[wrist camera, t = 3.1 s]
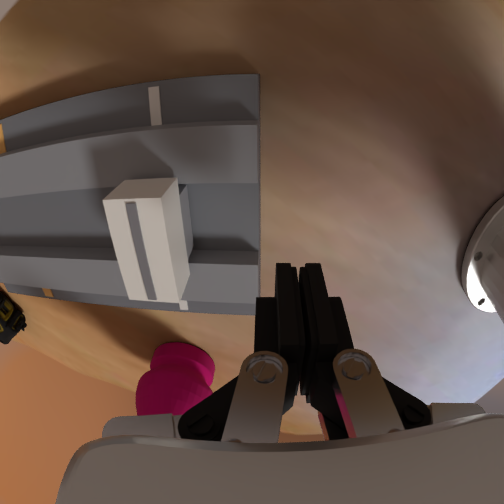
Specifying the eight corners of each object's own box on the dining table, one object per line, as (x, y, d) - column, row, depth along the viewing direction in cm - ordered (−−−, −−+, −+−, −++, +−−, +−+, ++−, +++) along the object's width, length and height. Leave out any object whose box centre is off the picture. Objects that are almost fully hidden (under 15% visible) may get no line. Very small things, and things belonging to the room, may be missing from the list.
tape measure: (16, 331, 31) (3, 351, 28) (-18, 294, 28) (-33, 312, 25) (33, 316, 29) (18, 339, 26) (-6, 274, 26) (-24, 294, 23)
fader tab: (185, 167, 17) (160, 198, 13) (195, 258, 20) (179, 304, 16) (136, 170, 17) (101, 200, 13) (151, 257, 20) (128, 300, 16)
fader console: (259, 73, 16) (256, 74, 13) (260, 297, 24) (258, 330, 21) (-28, 131, 17) (-55, 144, 14) (18, 280, 26) (0, 301, 23)
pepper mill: (137, 341, 28) (72, 532, 12) (202, 333, 27) (156, 562, 10) (169, 382, 32) (130, 549, 15) (230, 378, 31) (206, 566, 14)
